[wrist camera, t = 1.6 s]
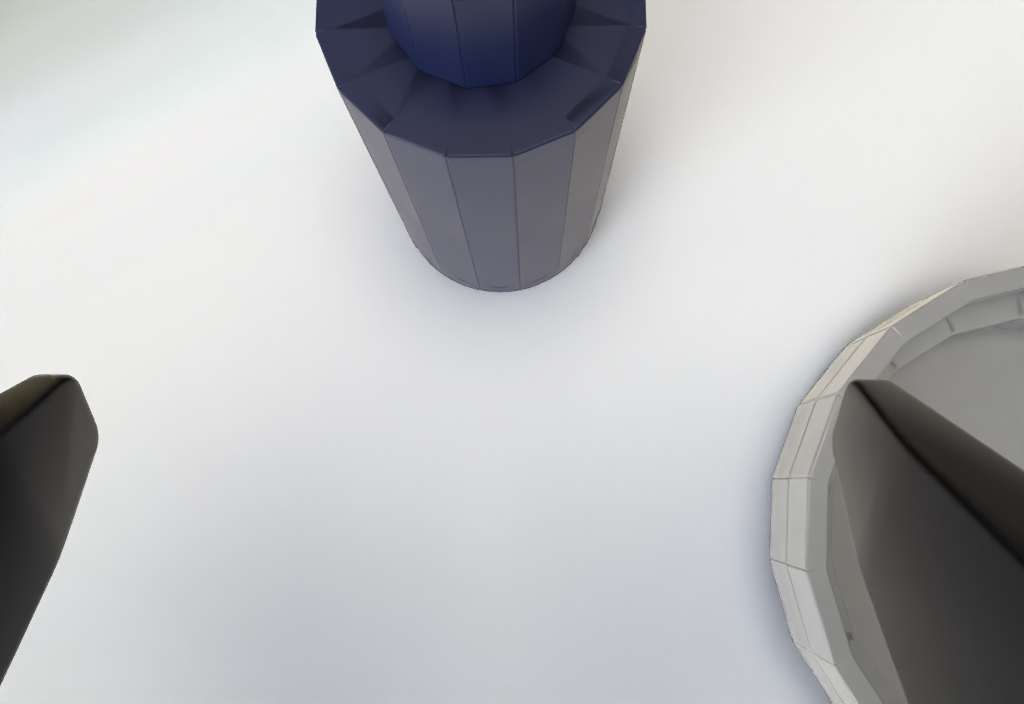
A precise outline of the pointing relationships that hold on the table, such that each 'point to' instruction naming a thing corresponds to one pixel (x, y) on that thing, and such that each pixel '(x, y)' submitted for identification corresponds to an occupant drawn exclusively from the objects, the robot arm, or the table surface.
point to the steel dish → (814, 480)
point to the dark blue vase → (488, 121)
